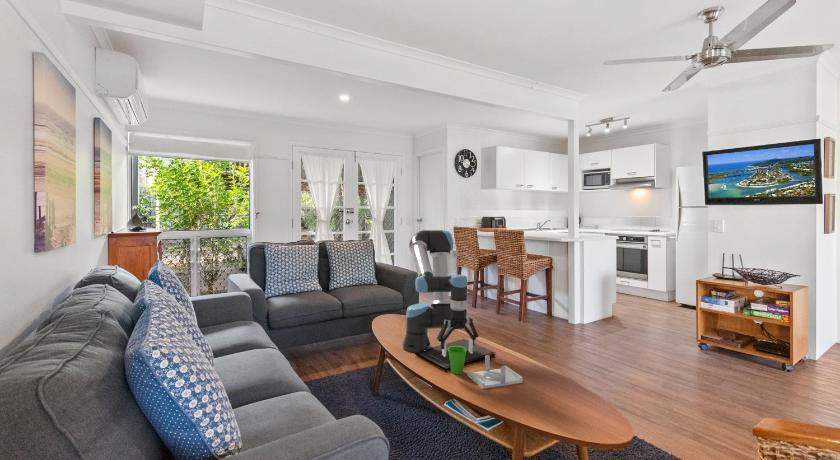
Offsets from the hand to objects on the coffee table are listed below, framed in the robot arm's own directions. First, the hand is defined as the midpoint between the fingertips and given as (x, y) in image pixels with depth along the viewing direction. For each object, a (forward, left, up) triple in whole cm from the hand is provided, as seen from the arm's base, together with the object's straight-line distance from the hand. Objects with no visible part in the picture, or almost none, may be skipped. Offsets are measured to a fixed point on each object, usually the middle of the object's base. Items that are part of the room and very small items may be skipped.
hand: (457, 354), depth 187 cm
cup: (0, 0, -9) cm, 9 cm away
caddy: (+12, +13, -9) cm, 20 cm away
